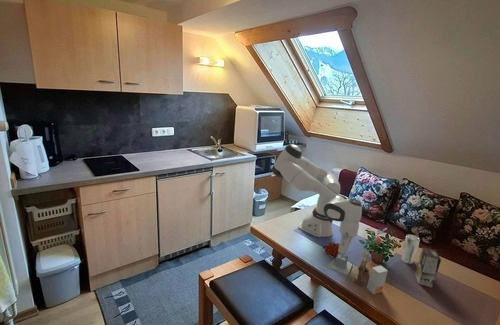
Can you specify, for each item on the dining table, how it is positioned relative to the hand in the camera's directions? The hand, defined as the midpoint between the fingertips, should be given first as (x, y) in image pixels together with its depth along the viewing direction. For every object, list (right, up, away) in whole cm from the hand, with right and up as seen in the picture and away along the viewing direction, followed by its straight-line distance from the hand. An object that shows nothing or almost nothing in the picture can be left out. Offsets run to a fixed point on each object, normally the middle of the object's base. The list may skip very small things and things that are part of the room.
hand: (344, 252), depth 140 cm
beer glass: (+40, -9, +12) cm, 43 cm away
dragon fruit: (-3, -5, +9) cm, 11 cm away
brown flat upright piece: (+7, -10, -4) cm, 13 cm away
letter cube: (-1, -7, +2) cm, 8 cm away
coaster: (-1, -8, +2) cm, 8 cm away
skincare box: (+10, -14, -13) cm, 21 cm away
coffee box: (+39, -13, -3) cm, 42 cm away
